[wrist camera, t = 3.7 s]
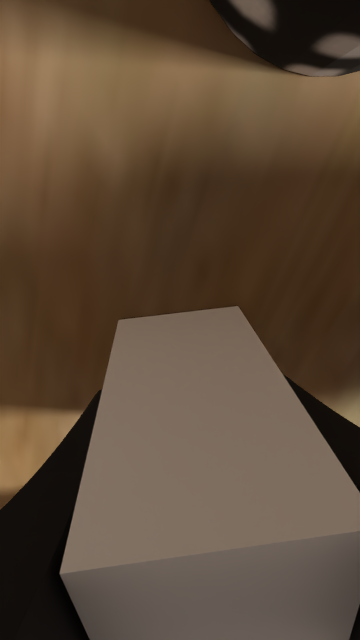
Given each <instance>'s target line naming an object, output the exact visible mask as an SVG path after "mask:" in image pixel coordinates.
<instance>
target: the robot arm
mask: <svg viewBox="0 0 360 640" xmlns="http://www.w3.org/2000/svg"><path fill="white" fill-rule="evenodd" d="M283 376H284V377H285V379H286V380H287V382H288V383H289V385H290V386H291V388H292V390H293V391H294V393H295V394H296V396H297V397H298V399H299V400H300V402H301V403H302V405H303V406H304V408H305V409H306V411H307V413H308V414H309V416H310V417H311V419H312V420H313V422H314V423H315V425H316V426H317V428H318V429H319V431H320V432H321V434H322V436H323V437H324V439H325V440H326V442H327V443H328V445H329V446H330V448H331V449H332V451H333V452H334V454H335V456H336V457H337V459H338V460H339V462H340V463H341V465H342V466H343V468H344V469H345V471H346V472H347V474H348V475H349V477H350V479H351V480H352V482H353V483H354V485H355V486H356V488H357V489H358V491H359V492H360V427H358V426H357V425H355V424H353V423H352V422H350V421H349V420H347V419H345V418H344V417H342V416H341V415H339V414H338V413H336V412H335V411H333V410H332V409H330V408H329V407H327V406H326V405H324V404H323V403H322V402H320V401H319V400H317V399H316V398H315V397H313V396H312V395H310V394H309V393H308V392H306V391H305V390H304V389H302V388H301V387H300V386H298V385H297V384H296V383H294V382H293V381H292V380H290V379H289V378H288V377H286V376H285V375H284V374H283ZM101 393H102V390H99V391H98V392H97V394H96V395H95V396H94V398H93V399H92V401H91V402H90V404H89V405H88V407H87V408H86V409H85V411H84V412H83V414H82V415H81V417H80V418H79V419H78V421H77V422H76V423H75V425H74V426H73V427H72V429H71V430H70V431H69V433H68V434H67V435H66V437H65V438H64V439H63V441H62V442H61V443H60V445H59V446H58V447H57V448H56V450H55V451H54V452H53V453H52V454H51V456H50V457H49V458H48V459H47V460H46V462H45V463H44V464H43V465H42V466H41V468H40V469H39V470H38V471H37V472H36V473H35V474H34V476H33V477H32V478H31V479H30V480H29V481H28V482H27V483H26V484H25V485H24V487H23V488H22V489H21V490H20V491H19V492H18V493H17V494H16V495H15V496H14V497H13V498H12V499H11V500H10V501H9V502H8V503H7V504H6V505H5V506H4V507H3V508H2V509H1V510H0V640H90V639H89V637H88V635H87V633H86V630H85V628H84V626H83V624H82V622H81V619H80V617H79V615H78V613H77V611H76V609H75V606H74V604H73V602H72V600H71V598H70V596H69V593H68V591H67V589H66V587H65V585H64V582H63V580H62V578H61V576H60V569H61V565H62V561H63V557H64V552H65V548H66V544H67V539H68V535H69V531H70V526H71V522H72V518H73V513H74V509H75V505H76V501H77V496H78V492H79V488H80V483H81V479H82V475H83V470H84V466H85V462H86V458H87V453H88V449H89V445H90V440H91V436H92V432H93V427H94V423H95V419H96V415H97V410H98V406H99V402H100V397H101ZM349 640H360V605H359V608H358V611H357V615H356V618H355V621H354V625H353V628H352V631H351V635H350V638H349Z"/></svg>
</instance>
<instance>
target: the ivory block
mask: <svg viewBox="0 0 360 640" xmlns="http://www.w3.org/2000/svg"><path fill="white" fill-rule="evenodd" d="M60 576H61V578H62V580H63V582H64V585H65V587H66V589H67V591H68V593H69V596H70V598H71V600H72V602H73V604H74V606H75V609H76V611H77V613H78V615H79V617H80V619H81V622H82V624H83V626H84V628H85V630H86V633H87V635H88V637H89V639H90V640H349V638H350V635H351V631H352V628H353V625H354V621H355V618H356V615H357V611H358V608H359V605H360V492H359V491H358V489H357V488H356V486H355V485H354V483H353V482H352V480H351V479H350V477H349V475H348V474H347V472H346V471H345V469H344V468H343V466H342V465H341V463H340V462H339V460H338V459H337V457H336V456H335V454H334V452H333V451H332V449H331V448H330V446H329V445H328V443H327V442H326V440H325V439H324V437H323V436H322V434H321V432H320V431H319V429H318V428H317V426H316V425H315V423H314V422H313V420H312V419H311V417H310V416H309V414H308V413H307V411H306V409H305V408H304V406H303V405H302V403H301V402H300V400H299V399H298V397H297V396H296V394H295V393H294V391H293V390H292V388H291V386H290V385H289V383H288V382H287V380H286V379H285V377H284V376H283V374H282V373H281V371H280V370H279V368H278V367H277V365H276V363H275V362H274V360H273V359H272V357H271V356H270V354H269V353H268V351H267V350H266V348H265V347H264V345H263V344H262V342H261V340H260V339H259V337H258V336H257V334H256V333H255V331H254V330H253V328H252V327H251V325H250V324H249V322H248V320H247V319H246V317H245V316H244V314H243V313H242V311H241V310H240V308H239V307H238V306H234V307H225V308H216V309H208V310H199V311H191V312H182V313H173V314H165V315H156V316H148V317H139V318H130V319H122V320H118V324H117V328H116V333H115V337H114V341H113V346H112V350H111V354H110V359H109V363H108V367H107V371H106V376H105V380H104V384H103V389H102V393H101V397H100V402H99V406H98V410H97V415H96V419H95V423H94V427H93V432H92V436H91V440H90V445H89V449H88V453H87V458H86V462H85V466H84V470H83V475H82V479H81V483H80V488H79V492H78V496H77V501H76V505H75V509H74V513H73V518H72V522H71V526H70V531H69V535H68V539H67V544H66V548H65V552H64V557H63V561H62V565H61V569H60Z"/></svg>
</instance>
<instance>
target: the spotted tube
mask: <svg viewBox="0 0 360 640" xmlns="http://www.w3.org/2000/svg"><path fill="white" fill-rule="evenodd" d="M210 2H211V3H212V5H213V6H214V8H215V9H216V10H217V12H218V13H219V15H220V16H221V17H222V19H223V20H224V21H225V23H226V24H227V26H228V27H229V28H230V30H231V31H232V33H233V34H235V35H236V36H237V37H238V38H239V39H240V40H241V41H242V42H243V43H244V44H246V45H247V46H248V47H249V48H250V49H251V50H252V51H253V52H254V53H255V54H257V55H258V56H260V57H262V58H264V59H265V60H267V61H269V62H271V63H273V64H274V65H276V66H278V67H280V68H282V69H284V70H288V71H292V72H296V73H300V74H304V75H308V76H341V75H345V74H349V73H353V72H357V71H360V0H210Z"/></svg>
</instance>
